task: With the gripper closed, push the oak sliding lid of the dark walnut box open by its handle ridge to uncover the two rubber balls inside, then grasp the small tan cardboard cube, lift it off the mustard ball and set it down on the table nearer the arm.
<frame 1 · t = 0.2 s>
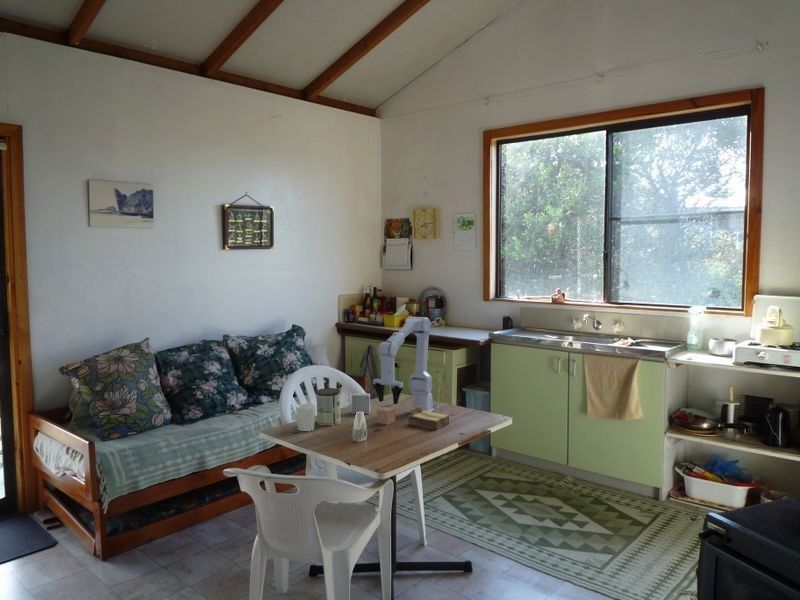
hand: (388, 402, 261), 10 cm above the table, tool pointing down, fingers open, 7 cm apart
mustard ball: (386, 419, 266), in the tan cardboard cube
coffee can: (328, 423, 268), on the table
medicine box: (361, 413, 283), on the table
white cup: (306, 430, 258), on the table
lid: (428, 413, 262), point 5 cm above the table, slide at 0.0 cm
sage ball: (424, 425, 262), resting in walnut box
tan cardboard cube: (386, 422, 267), on the table
walnut box: (428, 424, 263), on the table
slate ball: (423, 422, 267), resting in walnut box
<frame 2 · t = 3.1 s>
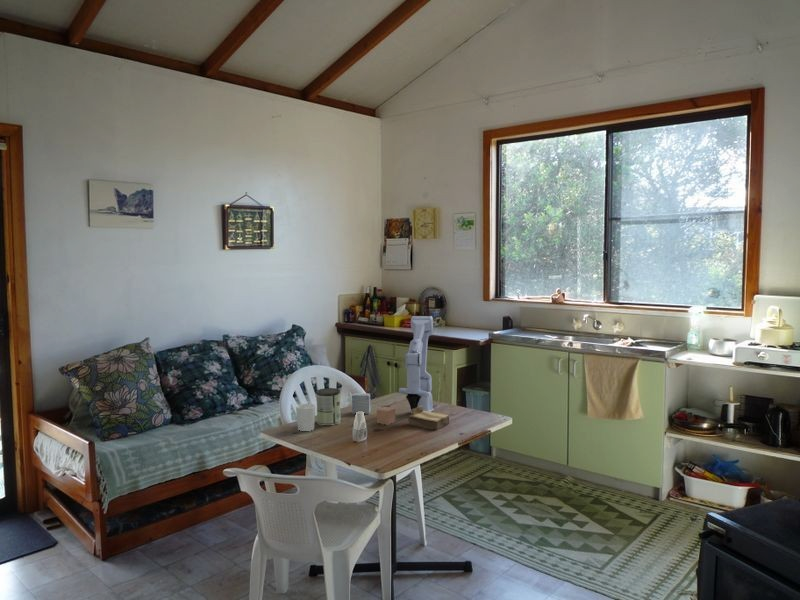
hand: (413, 411, 267), 5 cm above the table, tool pointing down, fingers closed
lid: (429, 413, 262), point 5 cm above the table, slide at 0.2 cm, touching gripper
everything else where it was.
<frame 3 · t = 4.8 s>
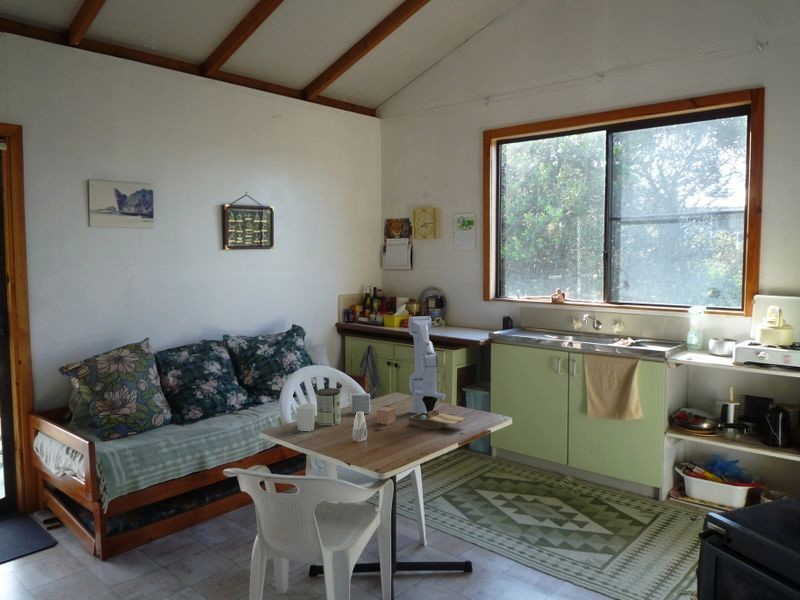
hand: (429, 413, 262), 5 cm above the table, tool pointing down, fingers closed
lid: (445, 416, 258), point 5 cm above the table, slide at 8.4 cm, touching gripper
everything else where it was.
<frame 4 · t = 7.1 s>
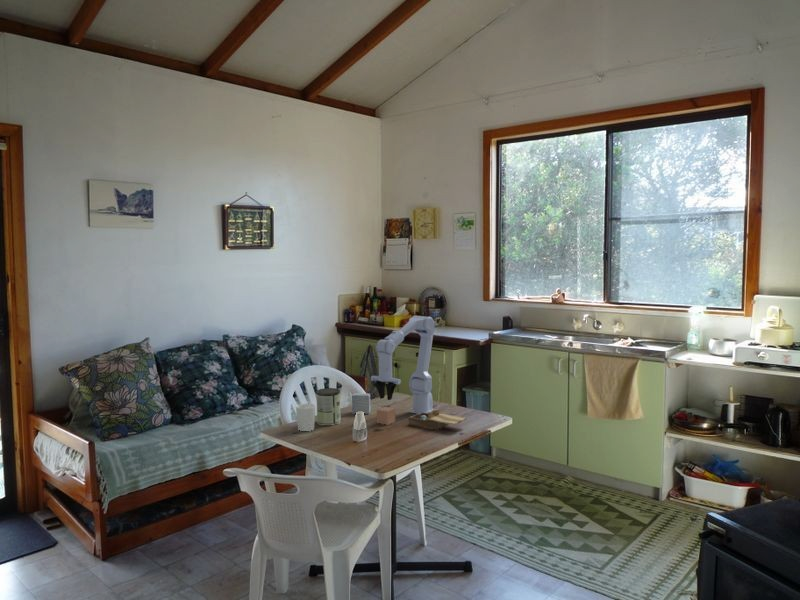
hand: (385, 398, 266), 10 cm above the table, tool pointing down, fingers open, 3 cm apart
lid: (446, 416, 257), point 5 cm above the table, slide at 8.6 cm
everything else where it was.
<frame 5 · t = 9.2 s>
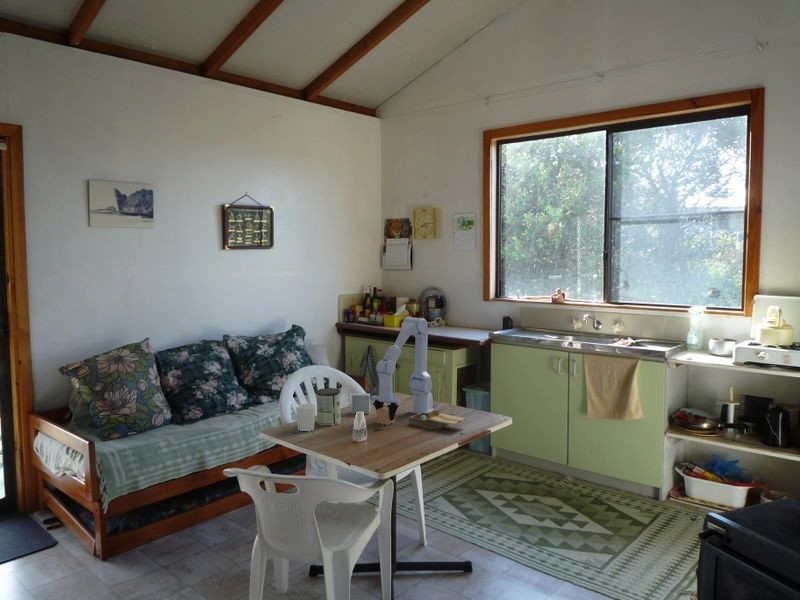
hand: (386, 418, 266), 2 cm above the table, tool pointing down, fingers closed on tan cardboard cube, 6 cm apart
tan cardboard cube: (386, 422, 267), on the table, touching gripper
everything else where it was.
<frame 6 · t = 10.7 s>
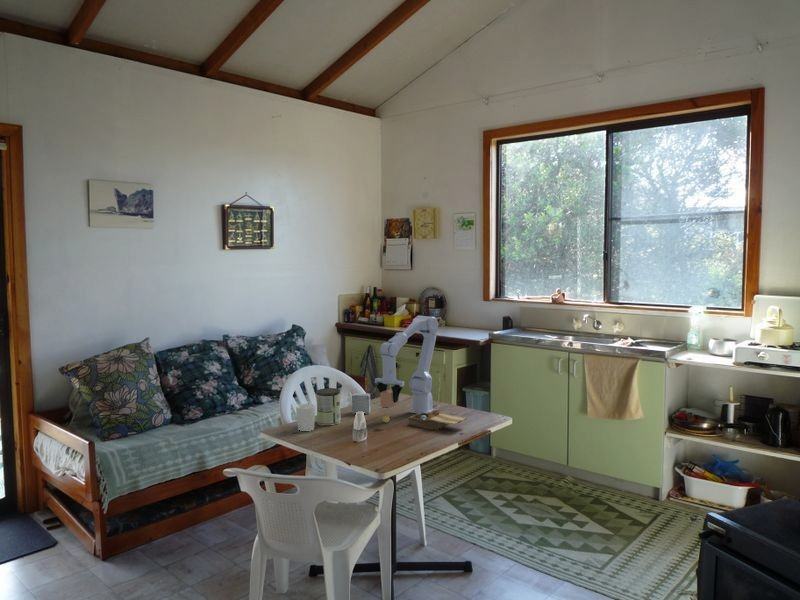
hand: (389, 400, 269), 9 cm above the table, tool pointing down, fingers closed on tan cardboard cube, 6 cm apart
tan cardboard cube: (389, 405, 269), point 7 cm above the table, touching gripper
everything else where it was.
when the fingers open (3 cm above the table, at t = 12.6 s): tan cardboard cube drops 1 cm, on the table.
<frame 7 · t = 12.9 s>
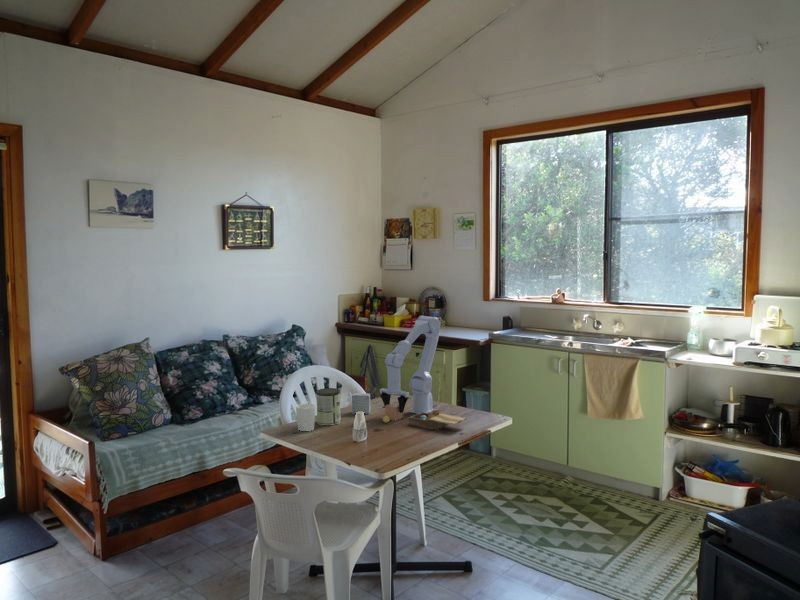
hand: (394, 411, 273), 3 cm above the table, tool pointing down, fingers open, 7 cm apart
tan cardboard cube: (394, 418, 273), on the table
everything else where it was.
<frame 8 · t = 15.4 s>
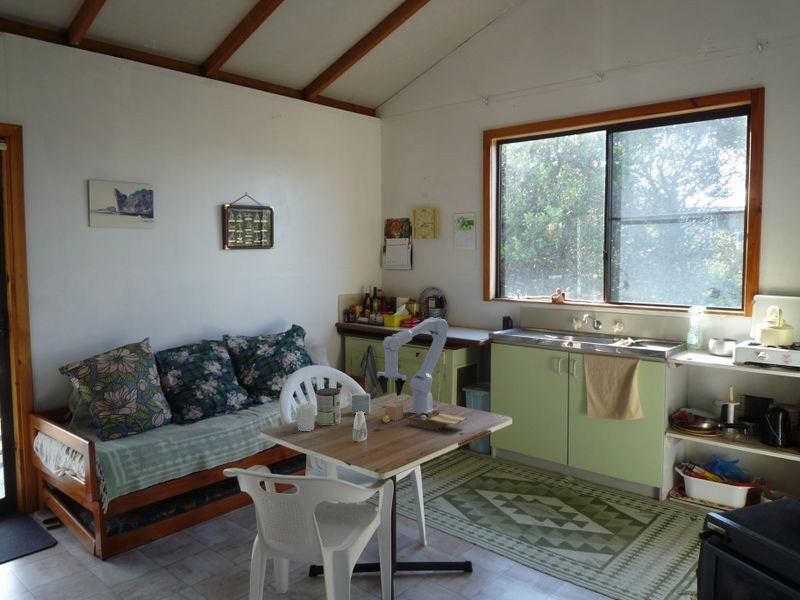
hand: (391, 394, 274), 10 cm above the table, tool pointing down, fingers open, 7 cm apart
nothing on the table moved.
at the end: lid slide at 8.6 cm; tan cardboard cube inside the target area (0.2 cm from its centre), on the table; tan cardboard cube moved 7.4 cm from its start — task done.
